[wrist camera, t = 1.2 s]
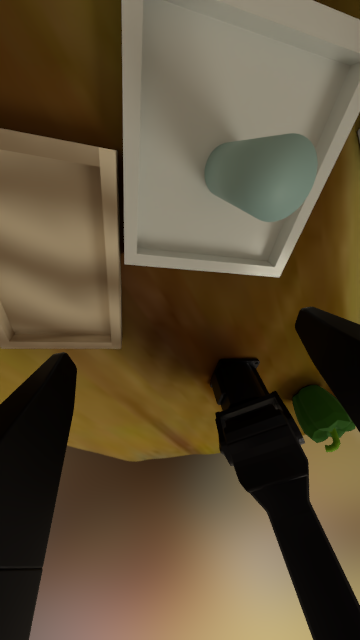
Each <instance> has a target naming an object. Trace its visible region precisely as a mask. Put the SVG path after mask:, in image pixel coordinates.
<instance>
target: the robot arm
mask: <svg viewBox="0 0 360 640" xmlns="http://www.w3.org/2000/svg"><path fill="white" fill-rule="evenodd" d="M295 329H296V331H297V333H298V335H299V337H300V339H301V341H302V343H303V345H304V347H305V348H306V350H307V352H308V354H309V356H310V358H311V360H312V361H313V363H314V365H315V366H316V368H317V369H318V371H319V372H320V374H321V375H322V377H323V378H324V380H325V381H326V383H327V384H328V386H329V387H330V389H331V390H332V392H333V393H334V395H335V396H336V398H337V399H338V401H339V402H340V404H341V405H342V407H343V408H344V410H345V411H346V413H347V414H348V416H349V417H350V418H351V420H352V421H353V423H354V424H355V426H356V427H357V429H358V430H359V432H360V325H359V324H357V323H354V322H352V321H349V320H346V319H344V318H341V317H338V316H336V315H333V314H331V313H328V312H325V311H323V310H320V309H317V308H315V307H307V308H302V309H301V310H300V311H299V314H298V317H297V320H296V323H295ZM259 363H260V362H259V360H258V359H221V360H219V362H218V365H217V367H216V370H215V371H214V373H213V376H212V378H211V382H210V386H211V387H212V388H213V391H214V395H215V398H216V401H217V404H218V405H221V407H222V410H223V411H221V412H216V413H215V414H216V419H215V421H216V425H217V429H218V434H219V448H220V452H221V453H222V454H223V455H225V457H226V459H227V460H228V462H229V464H230V465H231V466H234V468H235V471H236V474H237V477H238V479H239V482H240V483H241V485H242V486H243V487H244V488H245V490H246V491H247V492H249V493H250V494H251V495H252V496H253V497H254V498H255V499H256V501H258V503H259V504H260V505H261V506H262V507H263V508H264V509H265V511H266V512H267V514H268V516H269V519H270V522H271V524H272V527H273V530H274V533H275V535H276V538H277V541H278V544H279V546H280V549H281V552H282V555H283V558H284V560H285V563H286V566H287V569H288V571H289V574H290V577H291V580H292V582H293V585H294V588H295V591H296V593H297V596H298V599H299V602H300V605H301V607H302V610H303V613H304V615H305V618H306V621H307V624H308V627H309V629H310V632H311V635H312V638H313V640H360V605H359V603H358V601H357V599H356V597H355V595H354V592H353V591H352V588H351V586H350V584H349V582H348V580H347V578H346V576H345V574H344V572H343V570H342V568H341V565H340V563H339V561H338V559H337V557H336V555H335V553H334V551H333V549H332V547H331V545H330V543H329V540H328V538H327V536H326V534H325V532H324V530H323V528H322V526H321V524H320V522H319V520H318V518H317V515H316V513H315V511H314V510H313V507H312V505H311V503H310V500H309V469H308V459H307V457H306V455H305V453H304V452H303V449H302V448H301V446H300V445H301V444H304V443H305V441H304V439H303V436H302V434H301V432H300V430H299V428H298V426H297V424H296V423H295V421H294V419H293V417H292V416H291V414H290V413H289V411H288V409H287V408H286V406H285V405H284V403H283V401H282V400H281V398H280V397H279V395H278V393H277V392H276V391H274V392H272V393H270V394H269V392H268V391H267V389H266V387H265V385H264V383H263V381H262V379H261V377H260V376H259V374H258V372H257V370H256V368H257V366H258V365H259ZM76 377H77V368H76V365H75V364H74V362H73V361H72V360H71V358H70V357H69V355H68V354H67V353H65V352H62V353H57V354H53V355H52V356H51V357H50V358H49V359H48V360H47V361H46V362H44V363H43V364H42V365H41V366H40V367H39V368H38V369H37V370H36V371H35V372H34V373H33V374H32V375H31V376H30V377H29V378H28V379H27V380H26V381H25V382H23V383H22V384H21V385H20V386H19V387H18V388H17V389H16V390H15V391H14V392H13V393H12V394H11V395H10V396H9V397H8V398H7V399H6V400H5V401H3V402H2V403H1V404H0V640H29V636H30V631H31V626H32V621H33V615H34V610H35V605H36V600H37V595H38V590H39V585H40V580H41V575H42V567H43V564H44V558H45V553H46V548H47V543H48V538H49V533H50V528H51V523H52V518H53V513H54V508H55V502H56V497H57V492H58V487H59V482H60V477H61V472H62V467H63V462H64V457H65V452H66V447H67V442H68V437H69V432H70V426H71V421H72V416H73V410H74V401H75V389H76Z"/></svg>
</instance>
